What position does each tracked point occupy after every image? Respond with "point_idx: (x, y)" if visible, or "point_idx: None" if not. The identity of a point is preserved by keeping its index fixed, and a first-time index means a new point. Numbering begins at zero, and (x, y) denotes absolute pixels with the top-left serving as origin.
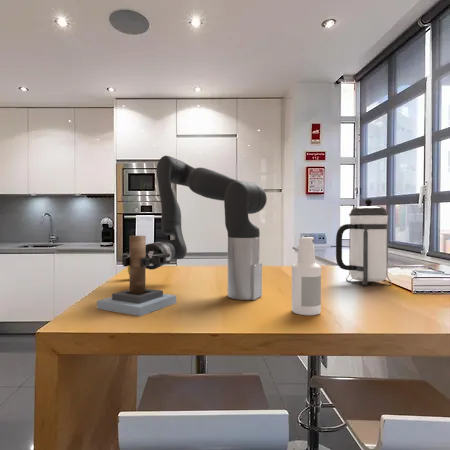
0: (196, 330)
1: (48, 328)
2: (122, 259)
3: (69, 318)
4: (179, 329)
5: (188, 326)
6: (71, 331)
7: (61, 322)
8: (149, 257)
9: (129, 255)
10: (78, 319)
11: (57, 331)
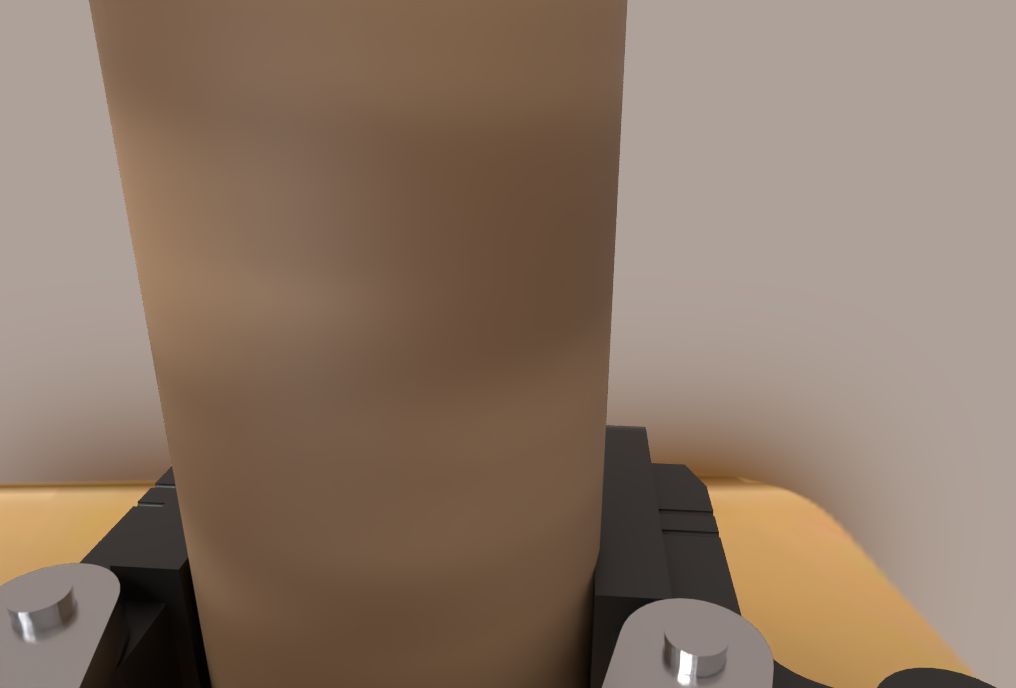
0: (20, 509)
1: (808, 516)
2: (679, 467)
3: (865, 651)
4: (105, 517)
5: (36, 549)
6: None
7: (835, 585)
8: (83, 590)
9: (694, 620)
10: (779, 634)
11: (723, 490)
